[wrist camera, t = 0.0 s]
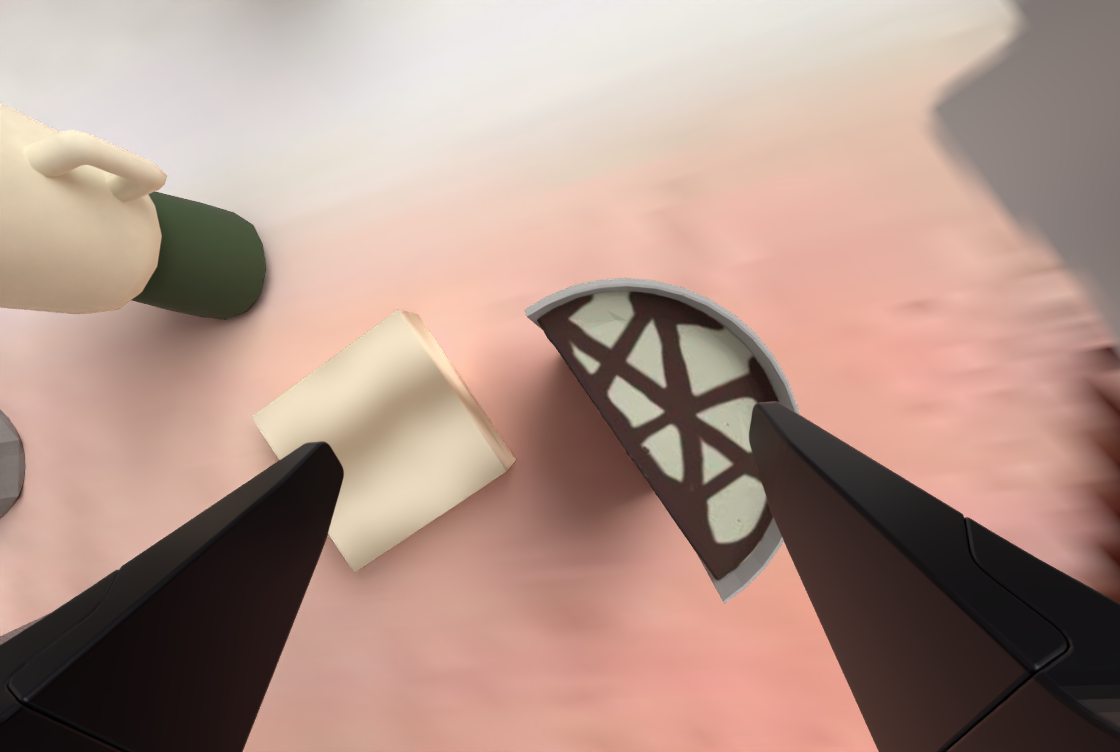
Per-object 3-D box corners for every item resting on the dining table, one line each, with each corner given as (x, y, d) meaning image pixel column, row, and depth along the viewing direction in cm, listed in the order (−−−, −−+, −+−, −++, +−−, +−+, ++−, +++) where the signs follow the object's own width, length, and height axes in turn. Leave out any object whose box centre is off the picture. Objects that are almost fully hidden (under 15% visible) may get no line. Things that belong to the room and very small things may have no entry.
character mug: (288, 176, 25) (-47, -23, 12) (329, 291, 25) (39, 218, 12) (130, 243, 26) (-336, 127, 13) (169, 354, 26) (-255, 348, 13)
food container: (773, 448, 23) (906, 514, 13) (676, 509, 24) (733, 617, 14) (642, 260, 23) (676, 186, 13) (550, 325, 24) (516, 301, 14)
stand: (516, 459, 24) (506, 471, 22) (378, 552, 25) (354, 573, 23) (418, 314, 24) (397, 309, 22) (285, 411, 25) (250, 417, 23)
